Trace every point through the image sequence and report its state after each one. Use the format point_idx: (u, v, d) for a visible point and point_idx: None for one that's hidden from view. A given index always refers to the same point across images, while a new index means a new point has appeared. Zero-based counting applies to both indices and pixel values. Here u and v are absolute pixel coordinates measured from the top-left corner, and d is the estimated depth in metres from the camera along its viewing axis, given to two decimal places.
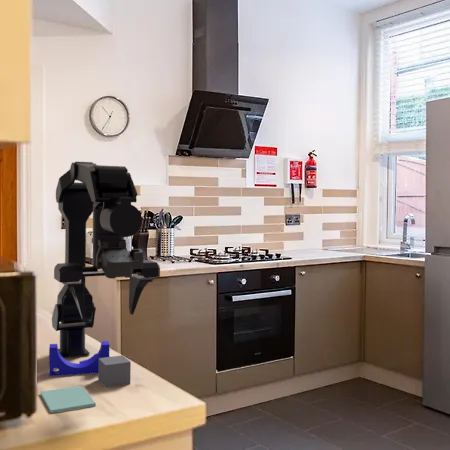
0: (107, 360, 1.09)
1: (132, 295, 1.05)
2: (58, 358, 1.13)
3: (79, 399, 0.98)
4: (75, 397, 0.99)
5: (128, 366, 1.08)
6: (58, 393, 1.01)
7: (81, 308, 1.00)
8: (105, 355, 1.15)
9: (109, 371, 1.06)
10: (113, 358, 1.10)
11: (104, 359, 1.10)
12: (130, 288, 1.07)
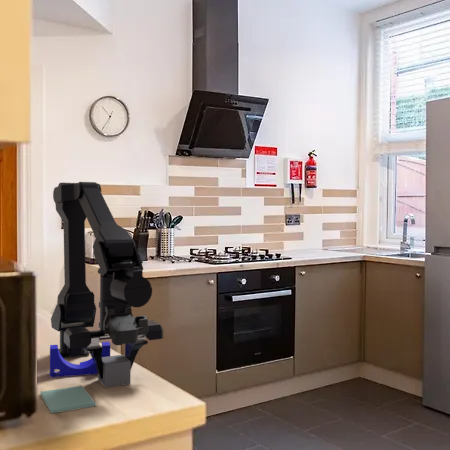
0: (107, 359, 1.09)
1: (128, 356, 1.11)
2: (59, 359, 1.12)
3: (79, 399, 0.98)
4: (75, 397, 0.99)
5: (128, 365, 1.08)
6: (58, 393, 1.01)
7: (99, 369, 1.07)
8: (105, 356, 1.15)
9: (109, 370, 1.06)
10: (113, 357, 1.10)
11: (104, 359, 1.10)
12: (126, 349, 1.12)
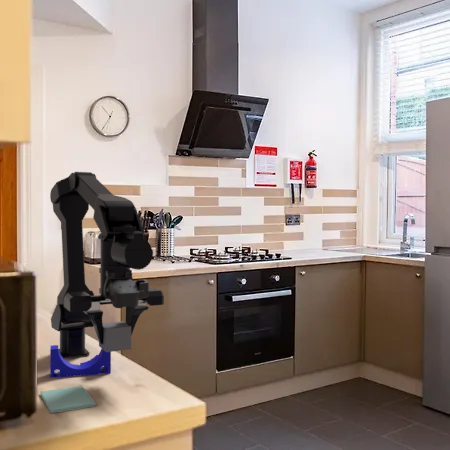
0: (108, 325, 1.09)
1: (128, 322, 1.10)
2: (59, 359, 1.12)
3: (79, 399, 0.98)
4: (75, 397, 0.99)
5: (128, 330, 1.08)
6: (58, 393, 1.01)
7: (100, 334, 1.07)
8: (106, 356, 1.14)
9: (110, 335, 1.06)
10: (114, 323, 1.10)
11: (104, 324, 1.09)
12: (126, 315, 1.12)
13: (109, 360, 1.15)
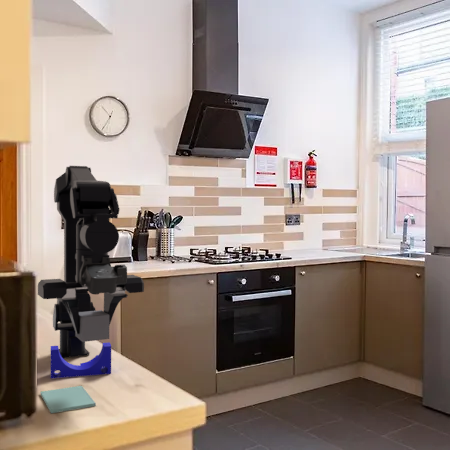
0: (85, 313, 1.03)
1: (106, 311, 1.04)
2: (59, 360, 1.11)
3: (79, 399, 0.98)
4: (75, 397, 0.99)
5: (106, 319, 1.02)
6: (58, 393, 1.01)
7: (76, 323, 1.01)
8: (106, 357, 1.14)
9: (86, 324, 1.00)
10: (91, 312, 1.04)
11: (81, 313, 1.03)
12: (104, 304, 1.06)
13: (109, 360, 1.14)
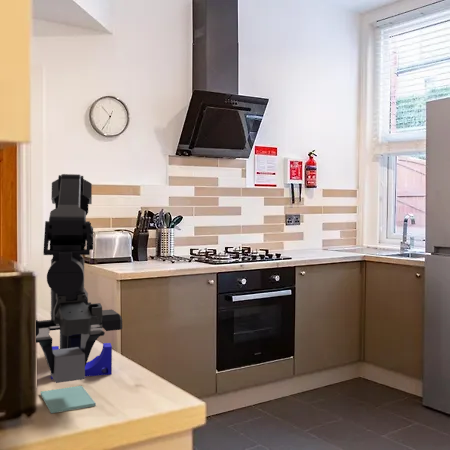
0: (60, 352, 0.99)
1: (83, 349, 1.00)
2: None
3: (79, 399, 0.98)
4: (75, 397, 0.99)
5: (82, 358, 0.98)
6: (58, 393, 1.01)
7: (50, 363, 0.97)
8: (107, 357, 1.14)
9: (60, 364, 0.96)
10: (67, 350, 1.00)
11: (56, 351, 0.99)
12: (81, 341, 1.02)
13: (110, 361, 1.14)
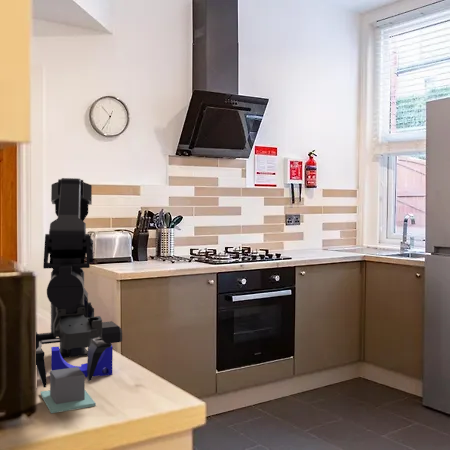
0: (59, 372, 0.99)
1: (90, 361, 1.01)
2: (60, 361, 1.11)
3: None
4: None
5: (81, 379, 0.98)
6: None
7: (42, 377, 0.96)
8: (108, 357, 1.13)
9: (60, 385, 0.96)
10: (66, 370, 1.00)
11: (55, 372, 0.99)
12: (88, 352, 1.02)
13: (111, 361, 1.14)
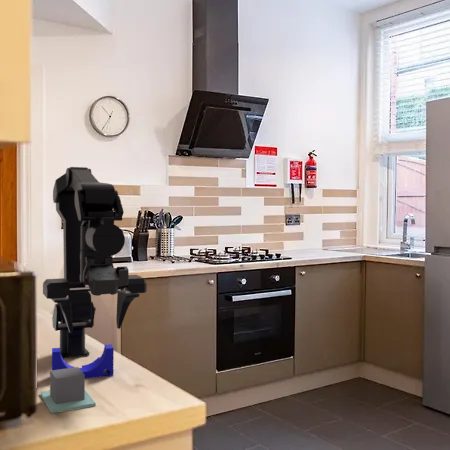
0: (59, 372, 0.99)
1: (119, 310, 1.08)
2: (61, 362, 1.10)
3: None
4: None
5: (81, 379, 0.98)
6: None
7: (68, 323, 1.03)
8: (109, 359, 1.13)
9: (60, 385, 0.96)
10: (66, 370, 1.00)
11: (55, 372, 0.99)
12: (118, 302, 1.09)
13: (112, 363, 1.13)
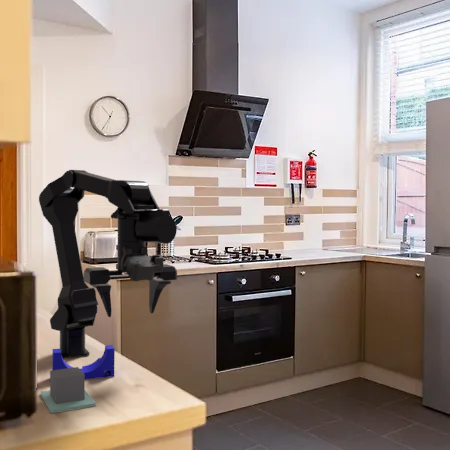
0: (59, 372, 0.99)
1: (152, 296, 1.18)
2: (62, 363, 1.09)
3: None
4: None
5: (81, 379, 0.98)
6: None
7: (108, 307, 1.12)
8: (110, 359, 1.12)
9: (60, 385, 0.96)
10: (66, 370, 1.00)
11: (55, 372, 0.99)
12: (150, 289, 1.19)
13: (113, 363, 1.13)
